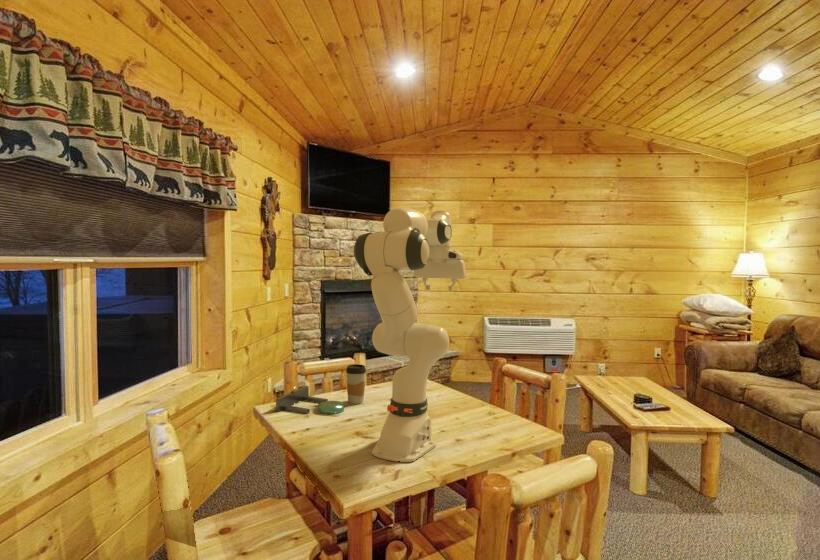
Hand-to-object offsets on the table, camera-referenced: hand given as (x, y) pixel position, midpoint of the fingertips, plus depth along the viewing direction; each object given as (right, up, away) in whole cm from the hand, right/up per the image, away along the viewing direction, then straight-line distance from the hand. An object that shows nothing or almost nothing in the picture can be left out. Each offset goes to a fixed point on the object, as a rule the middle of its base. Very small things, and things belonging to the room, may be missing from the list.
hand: (439, 290), depth 175 cm
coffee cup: (-34, -47, +14) cm, 60 cm away
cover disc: (-42, -48, +3) cm, 64 cm away
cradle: (-54, -47, +7) cm, 72 cm away
